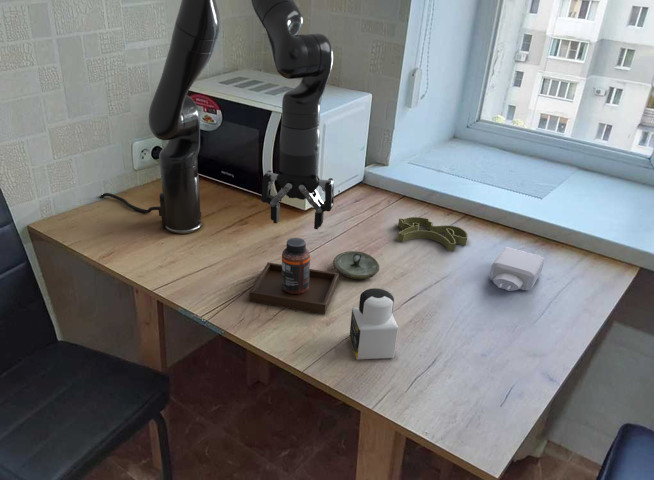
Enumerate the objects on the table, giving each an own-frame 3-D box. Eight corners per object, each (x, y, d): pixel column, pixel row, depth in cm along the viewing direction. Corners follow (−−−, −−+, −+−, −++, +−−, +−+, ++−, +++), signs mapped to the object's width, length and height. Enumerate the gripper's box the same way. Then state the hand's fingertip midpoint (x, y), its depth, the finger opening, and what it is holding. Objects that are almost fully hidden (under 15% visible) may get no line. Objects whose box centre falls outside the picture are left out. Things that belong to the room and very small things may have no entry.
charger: (479, 291, 133) (499, 263, 144) (522, 304, 129) (540, 275, 139) (483, 272, 131) (503, 245, 141) (527, 285, 126) (545, 256, 137)
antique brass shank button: (350, 261, 147) (346, 242, 145) (387, 263, 141) (384, 244, 139) (327, 281, 140) (323, 261, 138) (366, 285, 134) (362, 264, 132)
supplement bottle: (309, 281, 134) (311, 236, 128) (308, 296, 129) (310, 249, 123) (282, 280, 135) (283, 234, 129) (280, 294, 130) (281, 247, 124)
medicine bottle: (348, 337, 118) (353, 284, 112) (385, 335, 119) (392, 283, 113) (356, 360, 112) (362, 306, 106) (394, 358, 113) (402, 304, 107)
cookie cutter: (389, 239, 154) (390, 232, 153) (400, 220, 163) (401, 213, 162) (462, 253, 148) (464, 246, 147) (469, 233, 157) (471, 226, 156)
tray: (249, 301, 129) (249, 292, 128) (267, 270, 140) (267, 262, 139) (324, 314, 125) (325, 305, 124) (338, 282, 136) (338, 273, 135)
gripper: (340, 145, 117) (334, 222, 125) (269, 137, 120) (268, 212, 129) (332, 158, 111) (326, 238, 119) (257, 149, 114) (257, 227, 123)
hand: (296, 224), depth 124 cm, fingers open, 8 cm apart
